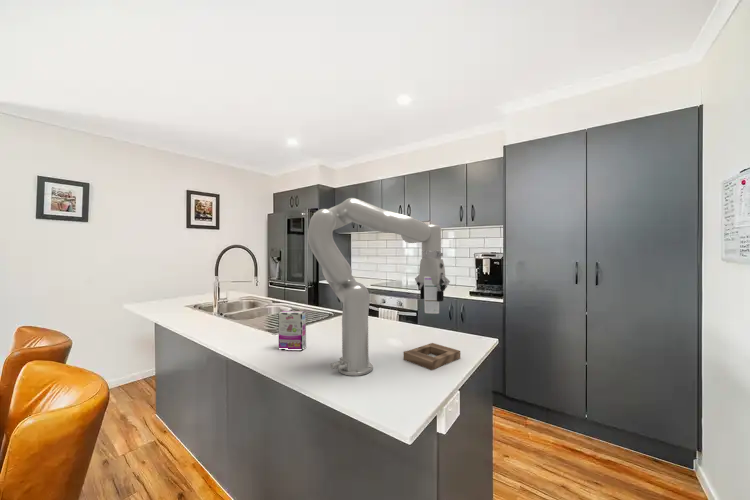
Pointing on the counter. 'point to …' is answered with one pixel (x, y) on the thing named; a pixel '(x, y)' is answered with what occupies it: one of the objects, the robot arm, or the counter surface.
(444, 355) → the square wooden frame
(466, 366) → the counter surface
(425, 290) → the syrup box
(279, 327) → the candy bar box
